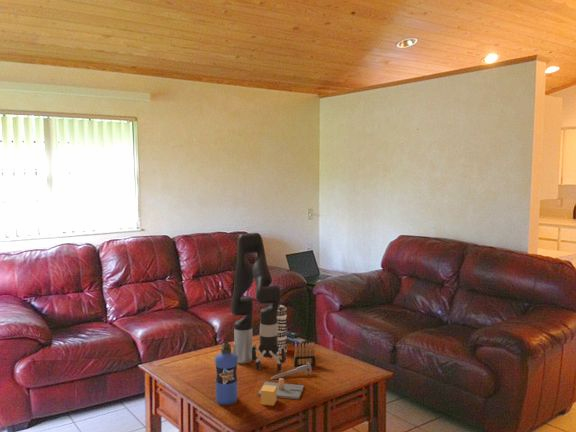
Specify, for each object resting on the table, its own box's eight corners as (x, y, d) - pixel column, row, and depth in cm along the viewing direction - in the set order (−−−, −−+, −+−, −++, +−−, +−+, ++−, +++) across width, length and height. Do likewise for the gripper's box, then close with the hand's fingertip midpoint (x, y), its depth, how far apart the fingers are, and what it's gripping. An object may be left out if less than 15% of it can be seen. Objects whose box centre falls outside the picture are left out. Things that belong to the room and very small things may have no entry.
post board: (258, 395, 216) (258, 383, 216) (265, 383, 228) (265, 372, 228) (298, 399, 213) (298, 386, 212) (303, 387, 224) (303, 375, 224)
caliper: (310, 373, 240) (310, 361, 240) (311, 374, 239) (311, 361, 239) (270, 379, 234) (270, 366, 234) (270, 379, 233) (270, 367, 233)
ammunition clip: (314, 364, 251) (314, 341, 250) (315, 365, 249) (315, 342, 248) (293, 365, 250) (293, 342, 249) (294, 366, 248) (294, 343, 247)
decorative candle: (269, 348, 273) (269, 304, 271) (285, 347, 275) (285, 303, 273) (272, 354, 264) (272, 308, 262) (289, 353, 266) (289, 307, 264)
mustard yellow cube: (260, 404, 208) (260, 390, 208) (264, 398, 214) (264, 384, 213) (273, 405, 207) (273, 391, 207) (276, 399, 213) (276, 386, 212)
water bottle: (238, 404, 209) (238, 346, 206) (216, 406, 207) (215, 347, 204) (236, 394, 218) (236, 338, 215) (215, 396, 216) (214, 340, 213)
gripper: (249, 335, 205) (250, 373, 207) (283, 337, 203) (283, 375, 204) (254, 329, 213) (254, 366, 214) (287, 331, 210) (287, 368, 211)
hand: (268, 370), depth 209 cm, fingers open, 8 cm apart
